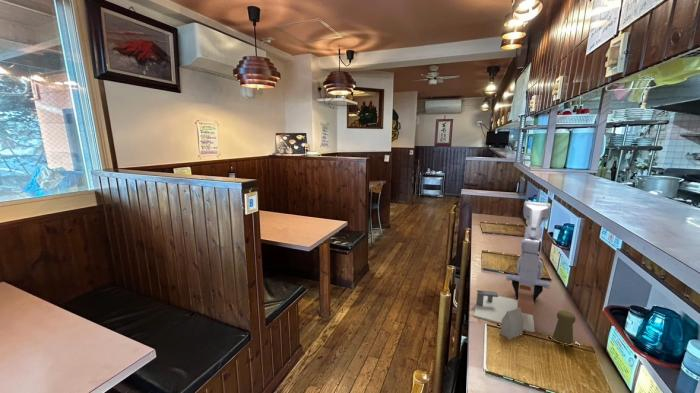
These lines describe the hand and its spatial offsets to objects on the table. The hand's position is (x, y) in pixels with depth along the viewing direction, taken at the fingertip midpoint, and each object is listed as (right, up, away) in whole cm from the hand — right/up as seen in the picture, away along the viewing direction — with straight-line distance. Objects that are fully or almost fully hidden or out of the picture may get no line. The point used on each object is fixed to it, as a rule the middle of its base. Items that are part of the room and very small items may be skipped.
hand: (524, 300), depth 114 cm
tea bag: (-10, -10, -9) cm, 17 cm away
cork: (+6, -10, -12) cm, 17 cm away
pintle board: (-5, -7, +7) cm, 11 cm away
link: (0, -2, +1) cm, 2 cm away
